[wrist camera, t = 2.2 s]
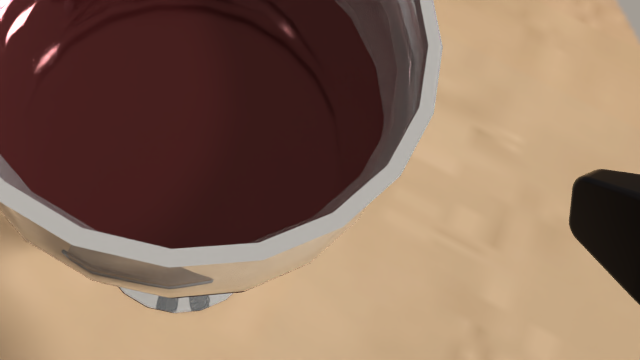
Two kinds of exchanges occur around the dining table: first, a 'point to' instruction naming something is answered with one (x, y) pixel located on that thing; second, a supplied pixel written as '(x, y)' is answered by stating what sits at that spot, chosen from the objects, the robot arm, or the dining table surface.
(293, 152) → the wineglass
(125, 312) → the dining table surface
